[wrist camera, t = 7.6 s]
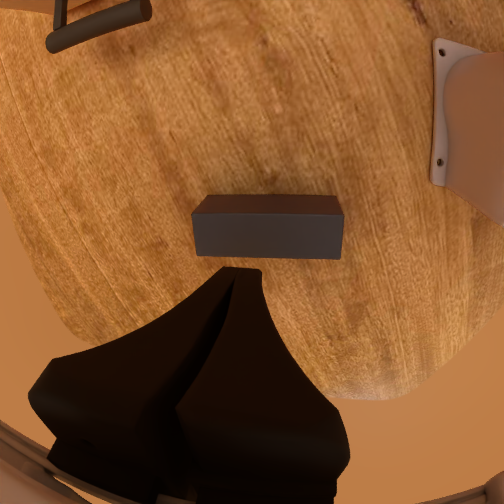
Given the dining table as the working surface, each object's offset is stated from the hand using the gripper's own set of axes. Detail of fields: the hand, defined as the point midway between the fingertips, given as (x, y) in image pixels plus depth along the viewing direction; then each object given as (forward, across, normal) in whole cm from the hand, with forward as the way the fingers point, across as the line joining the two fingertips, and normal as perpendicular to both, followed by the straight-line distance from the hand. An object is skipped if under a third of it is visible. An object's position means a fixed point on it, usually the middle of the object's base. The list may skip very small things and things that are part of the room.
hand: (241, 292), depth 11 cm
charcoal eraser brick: (+9, 0, +1) cm, 9 cm away
